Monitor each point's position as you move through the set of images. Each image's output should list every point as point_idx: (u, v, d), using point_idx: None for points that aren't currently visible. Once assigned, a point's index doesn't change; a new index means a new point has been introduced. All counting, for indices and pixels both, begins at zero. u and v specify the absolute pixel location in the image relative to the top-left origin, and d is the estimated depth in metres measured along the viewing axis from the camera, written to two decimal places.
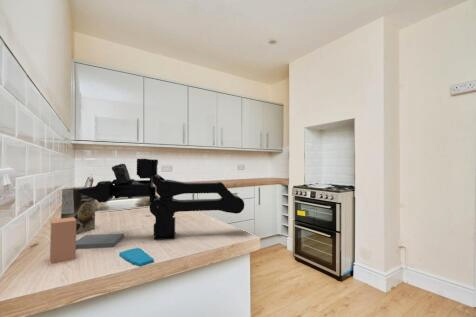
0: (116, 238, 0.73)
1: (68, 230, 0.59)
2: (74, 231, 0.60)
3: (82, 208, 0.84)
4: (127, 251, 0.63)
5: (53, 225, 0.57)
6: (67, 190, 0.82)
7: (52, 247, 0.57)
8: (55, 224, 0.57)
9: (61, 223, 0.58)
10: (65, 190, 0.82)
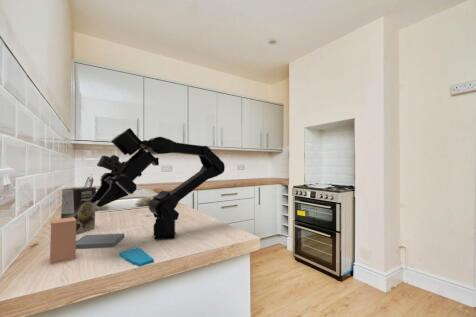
0: (116, 238, 0.73)
1: (68, 230, 0.59)
2: (74, 231, 0.60)
3: (82, 208, 0.84)
4: (127, 251, 0.64)
5: (53, 225, 0.57)
6: (67, 190, 0.82)
7: (52, 247, 0.57)
8: (55, 224, 0.57)
9: (61, 223, 0.58)
10: (65, 190, 0.82)
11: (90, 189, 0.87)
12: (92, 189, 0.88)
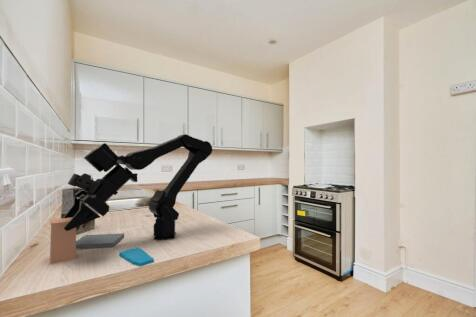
0: (116, 238, 0.73)
1: None
2: (74, 231, 0.60)
3: None
4: (127, 251, 0.64)
5: (53, 225, 0.57)
6: (67, 190, 0.82)
7: (52, 247, 0.57)
8: (55, 224, 0.57)
9: (61, 223, 0.58)
10: (65, 190, 0.82)
11: None
12: None
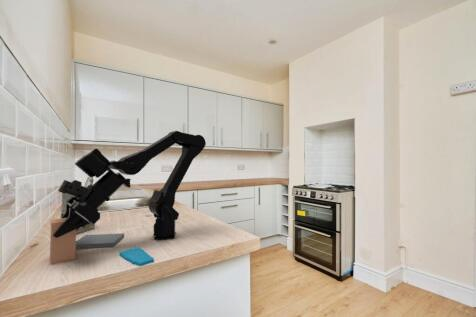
0: (116, 238, 0.73)
1: None
2: (74, 231, 0.60)
3: None
4: (127, 251, 0.64)
5: (53, 225, 0.57)
6: None
7: (52, 247, 0.57)
8: (55, 224, 0.57)
9: (61, 223, 0.58)
10: None
11: None
12: None
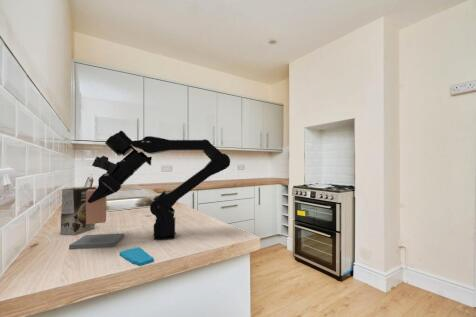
0: (116, 238, 0.73)
1: None
2: (104, 199, 0.71)
3: (82, 208, 0.84)
4: (127, 250, 0.64)
5: (87, 192, 0.69)
6: (67, 190, 0.82)
7: (86, 210, 0.69)
8: (88, 192, 0.69)
9: (93, 191, 0.70)
10: (65, 190, 0.82)
11: None
12: None
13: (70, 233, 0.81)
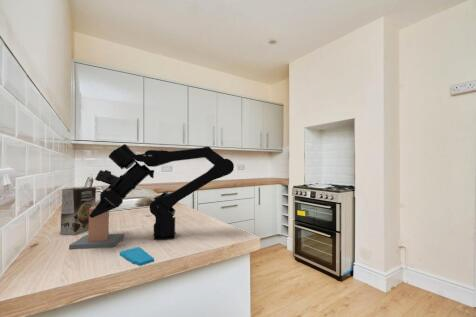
0: (116, 238, 0.73)
1: (101, 215, 0.71)
2: (106, 217, 0.72)
3: (82, 208, 0.84)
4: (127, 250, 0.64)
5: (90, 210, 0.70)
6: (67, 190, 0.82)
7: (89, 228, 0.70)
8: (91, 210, 0.70)
9: None
10: (65, 190, 0.82)
11: (90, 189, 0.87)
12: (92, 189, 0.88)
13: (70, 233, 0.81)
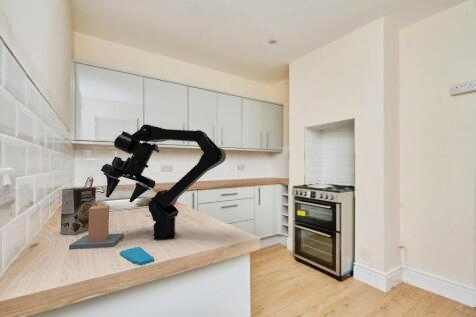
0: (116, 238, 0.73)
1: (101, 215, 0.71)
2: (106, 217, 0.72)
3: (82, 208, 0.84)
4: (127, 250, 0.64)
5: (90, 210, 0.70)
6: (67, 190, 0.82)
7: (89, 228, 0.70)
8: (91, 210, 0.70)
9: (96, 209, 0.70)
10: (65, 190, 0.82)
11: (90, 189, 0.87)
12: (92, 189, 0.88)
13: (70, 233, 0.81)
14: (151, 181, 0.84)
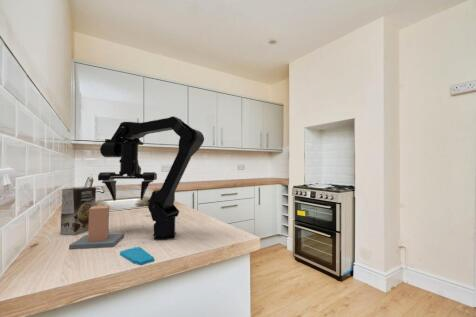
0: (116, 238, 0.73)
1: (101, 215, 0.71)
2: (106, 217, 0.72)
3: (82, 208, 0.84)
4: (128, 250, 0.64)
5: (90, 210, 0.70)
6: (67, 190, 0.82)
7: (89, 228, 0.70)
8: (91, 210, 0.70)
9: (96, 209, 0.70)
10: (65, 190, 0.82)
11: (90, 189, 0.87)
12: (92, 189, 0.88)
13: (70, 233, 0.81)
14: (147, 173, 0.82)
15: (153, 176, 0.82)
